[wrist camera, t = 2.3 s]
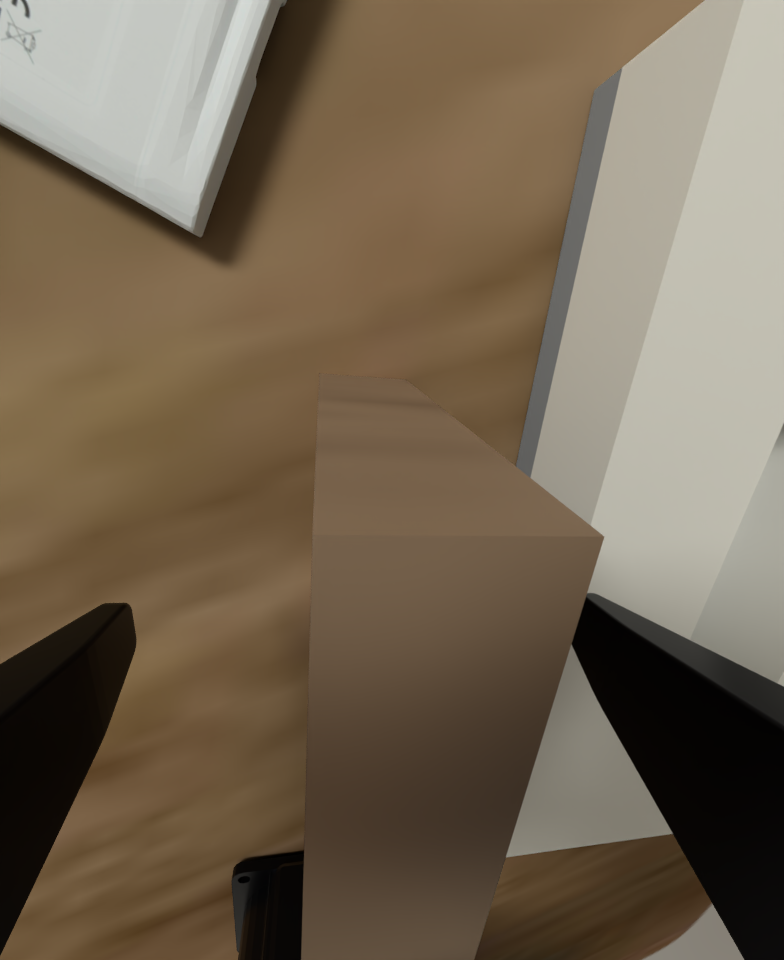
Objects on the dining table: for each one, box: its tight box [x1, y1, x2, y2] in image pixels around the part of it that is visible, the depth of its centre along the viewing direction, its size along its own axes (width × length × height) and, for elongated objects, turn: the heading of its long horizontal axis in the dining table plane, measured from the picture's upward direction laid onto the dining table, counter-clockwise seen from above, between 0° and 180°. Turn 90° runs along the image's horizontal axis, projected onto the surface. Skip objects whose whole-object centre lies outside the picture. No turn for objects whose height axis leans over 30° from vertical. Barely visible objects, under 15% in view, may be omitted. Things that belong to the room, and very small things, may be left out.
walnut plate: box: [301, 373, 604, 960], centre depth 9 cm, size 8×2×9 cm, turn 175°
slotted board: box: [506, 0, 784, 857], centre depth 13 cm, size 22×12×4 cm, turn 175°
